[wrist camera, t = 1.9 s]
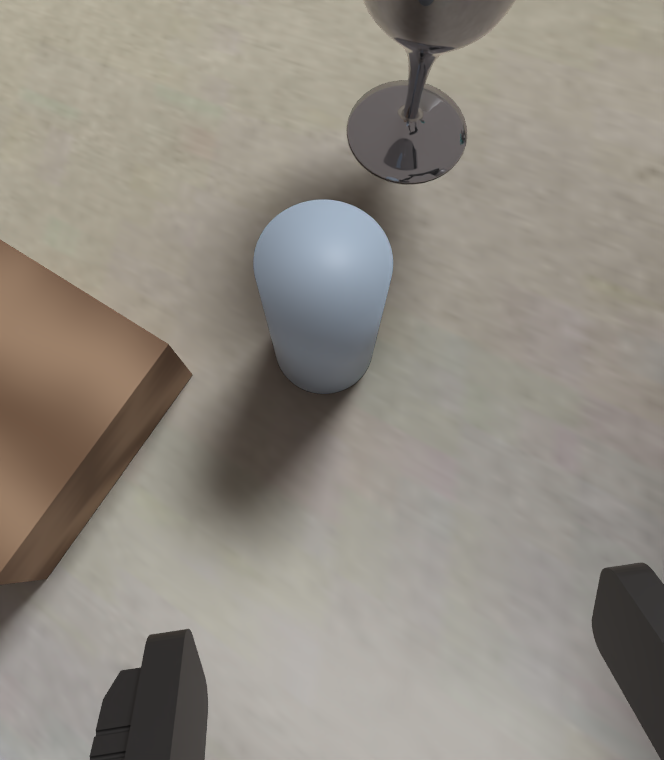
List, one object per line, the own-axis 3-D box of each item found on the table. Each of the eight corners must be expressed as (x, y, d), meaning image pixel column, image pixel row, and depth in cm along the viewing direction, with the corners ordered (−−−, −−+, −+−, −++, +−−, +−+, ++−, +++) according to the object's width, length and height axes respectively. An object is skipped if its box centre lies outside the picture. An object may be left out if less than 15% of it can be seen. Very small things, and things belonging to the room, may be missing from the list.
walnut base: (14, 263, 33) (-39, 215, 28) (192, 374, 31) (168, 344, 27) (-141, 446, 30) (-229, 428, 25) (46, 578, 29) (-10, 586, 24)
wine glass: (443, 210, 34) (530, -35, 20) (317, 158, 35) (311, -114, 21) (493, 104, 36) (605, -190, 22) (373, 57, 37) (403, -257, 22)
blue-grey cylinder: (309, 284, 33) (302, 177, 23) (390, 332, 32) (418, 241, 23) (256, 361, 32) (226, 281, 22) (339, 412, 31) (346, 353, 21)
